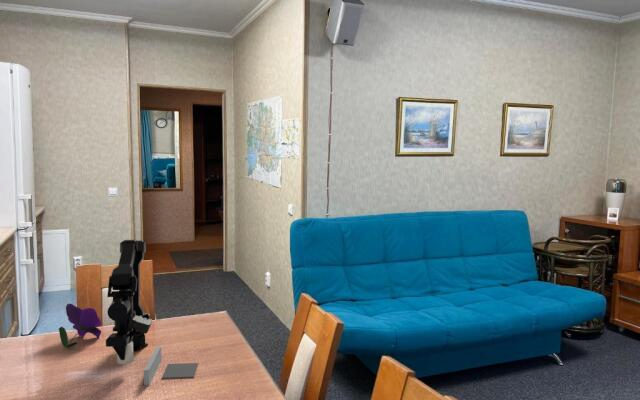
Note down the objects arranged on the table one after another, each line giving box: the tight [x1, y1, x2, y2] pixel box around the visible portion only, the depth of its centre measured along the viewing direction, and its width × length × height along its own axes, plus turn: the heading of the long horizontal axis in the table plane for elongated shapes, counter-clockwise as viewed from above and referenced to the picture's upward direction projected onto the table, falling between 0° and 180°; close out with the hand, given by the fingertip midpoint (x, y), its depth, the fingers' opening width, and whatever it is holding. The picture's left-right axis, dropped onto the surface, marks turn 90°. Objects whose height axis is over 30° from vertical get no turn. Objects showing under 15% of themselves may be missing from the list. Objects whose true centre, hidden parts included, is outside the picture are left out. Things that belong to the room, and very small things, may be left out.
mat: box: [161, 362, 199, 380], centre depth 164 cm, size 10×10×1 cm
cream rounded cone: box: [116, 341, 134, 365], centre depth 162 cm, size 5×5×6 cm
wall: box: [143, 346, 162, 386], centre depth 163 cm, size 18×2×5 cm, turn 6°
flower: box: [58, 303, 102, 349], centre depth 185 cm, size 15×15×14 cm
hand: (125, 356), depth 162 cm, fingers closed on cream rounded cone, 5 cm apart
